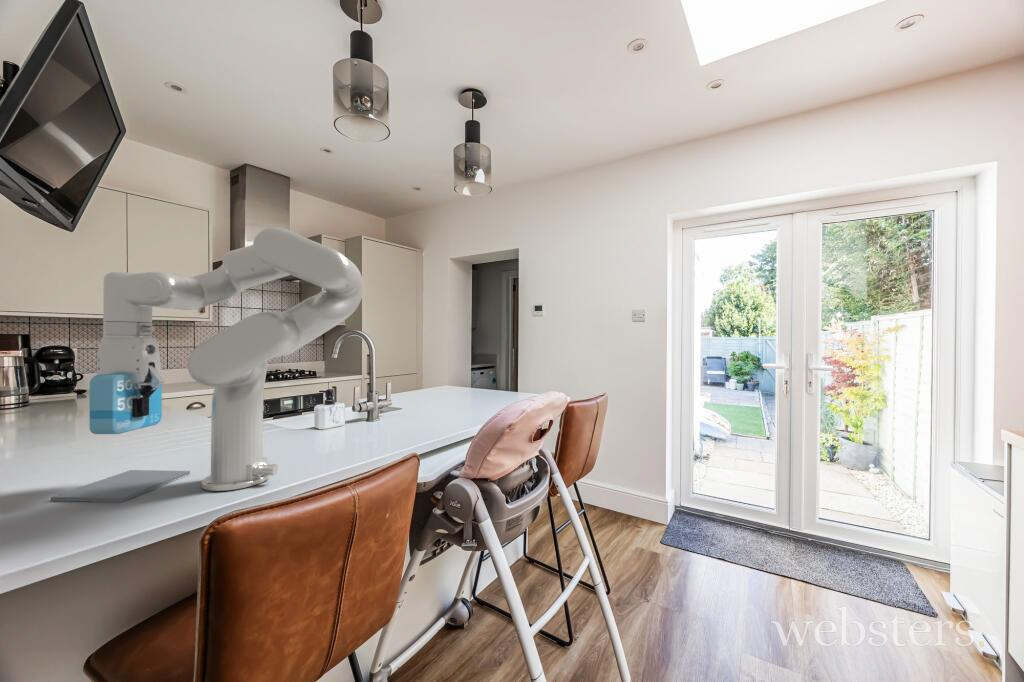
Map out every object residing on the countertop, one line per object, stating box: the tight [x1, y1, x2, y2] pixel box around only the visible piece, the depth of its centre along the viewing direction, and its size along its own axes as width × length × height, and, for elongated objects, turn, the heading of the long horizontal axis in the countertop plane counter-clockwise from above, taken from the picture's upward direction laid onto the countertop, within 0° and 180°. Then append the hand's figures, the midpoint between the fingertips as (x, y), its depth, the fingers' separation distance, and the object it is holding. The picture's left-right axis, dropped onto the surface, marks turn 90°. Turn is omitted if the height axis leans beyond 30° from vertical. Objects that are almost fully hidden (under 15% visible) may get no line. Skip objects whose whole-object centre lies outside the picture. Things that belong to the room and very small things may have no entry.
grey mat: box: [50, 469, 191, 503], centre depth 85 cm, size 14×16×1 cm
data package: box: [89, 374, 163, 435], centre depth 85 cm, size 12×4×12 cm, turn 3°
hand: (128, 415), depth 85 cm, fingers closed on data package, 4 cm apart
